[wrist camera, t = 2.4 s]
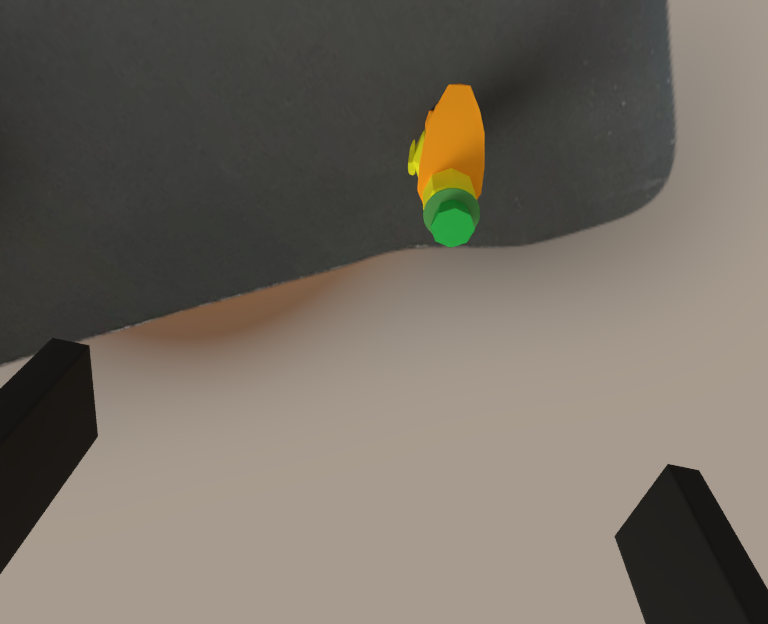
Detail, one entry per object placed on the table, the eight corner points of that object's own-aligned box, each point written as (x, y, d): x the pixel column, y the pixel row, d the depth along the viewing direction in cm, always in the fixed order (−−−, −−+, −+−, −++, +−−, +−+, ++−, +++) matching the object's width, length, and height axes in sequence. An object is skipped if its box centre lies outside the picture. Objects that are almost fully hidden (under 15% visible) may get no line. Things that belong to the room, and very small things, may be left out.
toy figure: (414, 56, 27) (412, 101, 17) (484, 59, 27) (524, 106, 17) (406, 185, 31) (401, 285, 20) (468, 188, 31) (494, 290, 20)
